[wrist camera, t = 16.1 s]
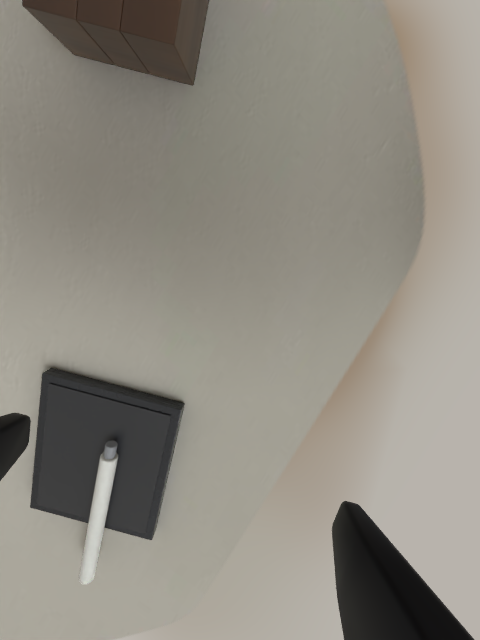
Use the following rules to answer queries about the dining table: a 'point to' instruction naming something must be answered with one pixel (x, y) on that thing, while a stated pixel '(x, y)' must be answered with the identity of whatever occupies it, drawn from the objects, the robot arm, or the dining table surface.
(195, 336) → the dining table surface
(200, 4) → the pen stand
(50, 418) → the tablet
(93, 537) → the stylus
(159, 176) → the dining table surface
